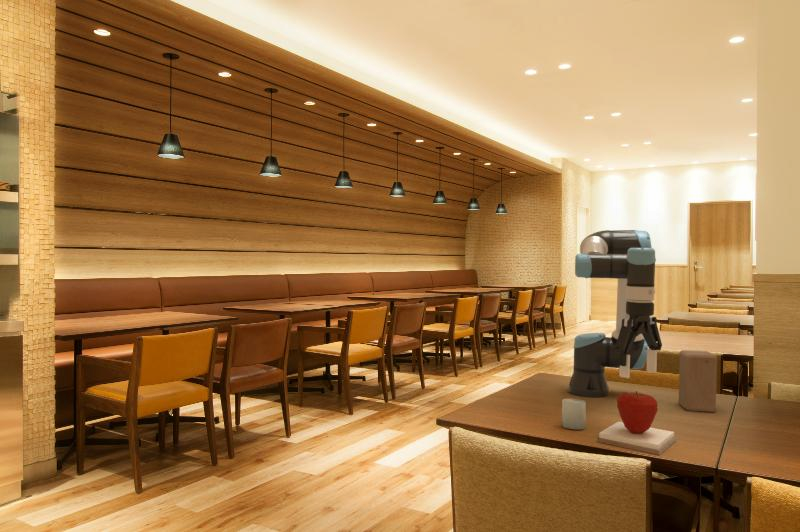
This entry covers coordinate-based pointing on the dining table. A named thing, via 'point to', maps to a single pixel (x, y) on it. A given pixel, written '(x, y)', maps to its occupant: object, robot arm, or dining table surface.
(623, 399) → the apple
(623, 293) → the robot arm
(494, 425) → the dining table surface
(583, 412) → the white pillar candle
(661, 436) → the stand
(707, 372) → the wooden block
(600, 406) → the dining table surface
